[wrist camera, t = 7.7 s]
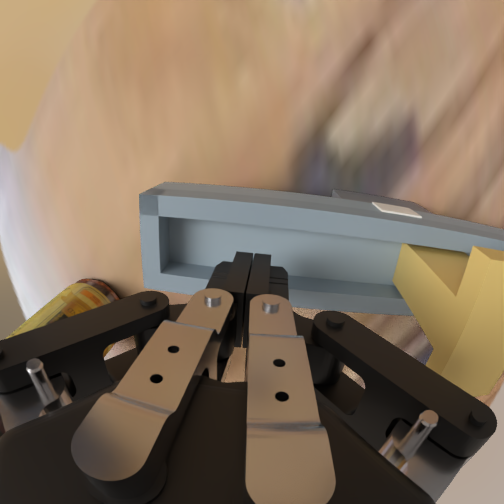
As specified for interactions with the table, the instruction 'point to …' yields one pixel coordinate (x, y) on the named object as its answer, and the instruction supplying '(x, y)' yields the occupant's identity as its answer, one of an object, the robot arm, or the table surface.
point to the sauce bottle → (69, 308)
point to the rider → (457, 310)
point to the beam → (295, 241)
